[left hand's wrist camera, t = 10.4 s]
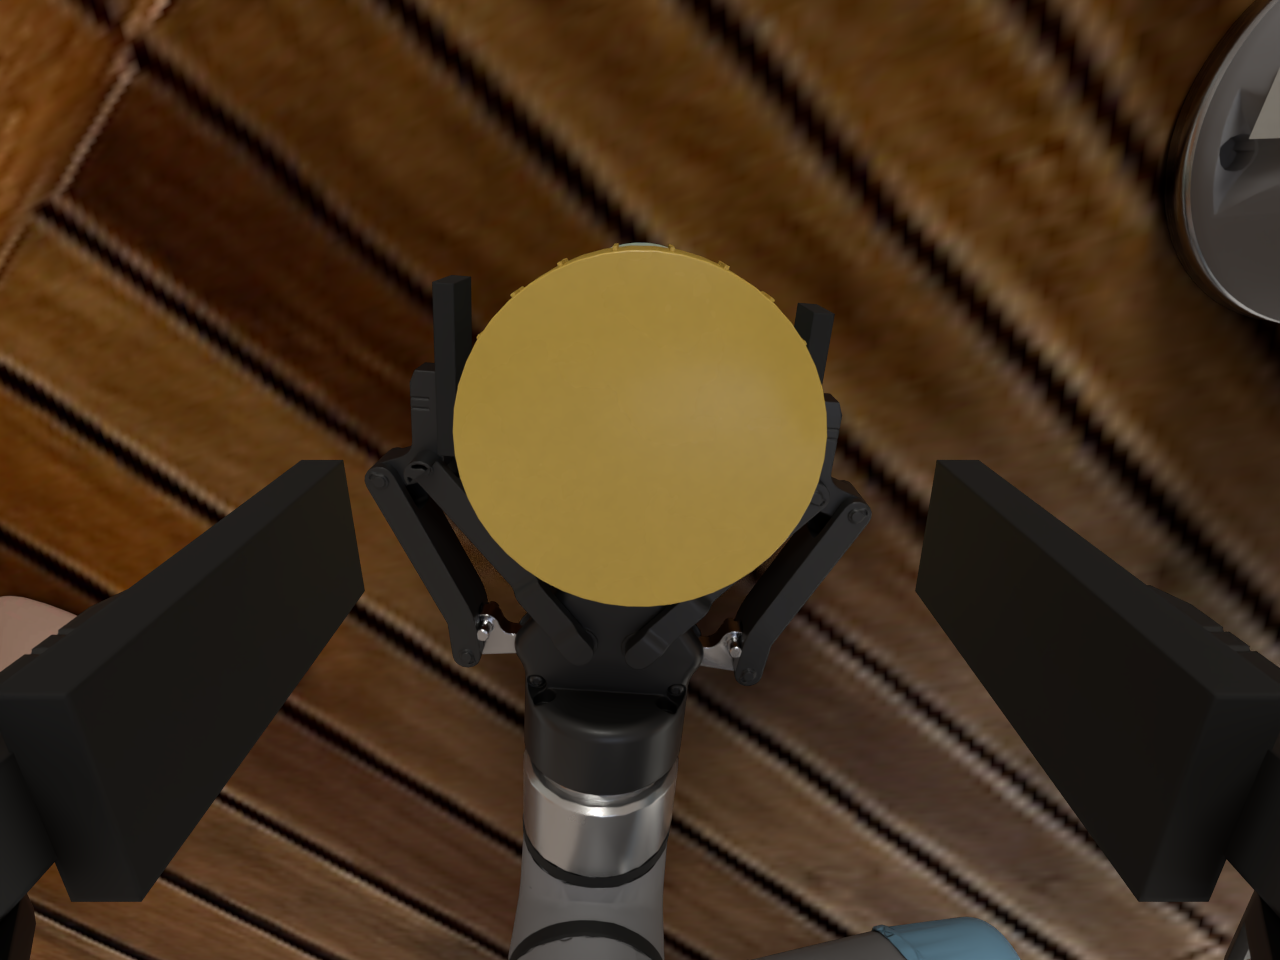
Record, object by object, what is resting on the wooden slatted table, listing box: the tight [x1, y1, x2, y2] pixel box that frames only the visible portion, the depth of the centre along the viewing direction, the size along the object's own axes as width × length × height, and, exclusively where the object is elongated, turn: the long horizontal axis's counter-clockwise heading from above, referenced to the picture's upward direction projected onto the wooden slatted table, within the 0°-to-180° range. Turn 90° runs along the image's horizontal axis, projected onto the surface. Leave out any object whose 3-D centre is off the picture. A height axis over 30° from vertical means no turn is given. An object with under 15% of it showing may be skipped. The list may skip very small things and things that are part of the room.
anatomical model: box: [0, 596, 77, 672], centre depth 39 cm, size 13×4×12 cm
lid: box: [453, 243, 827, 607], centre depth 18 cm, size 10×10×2 cm
